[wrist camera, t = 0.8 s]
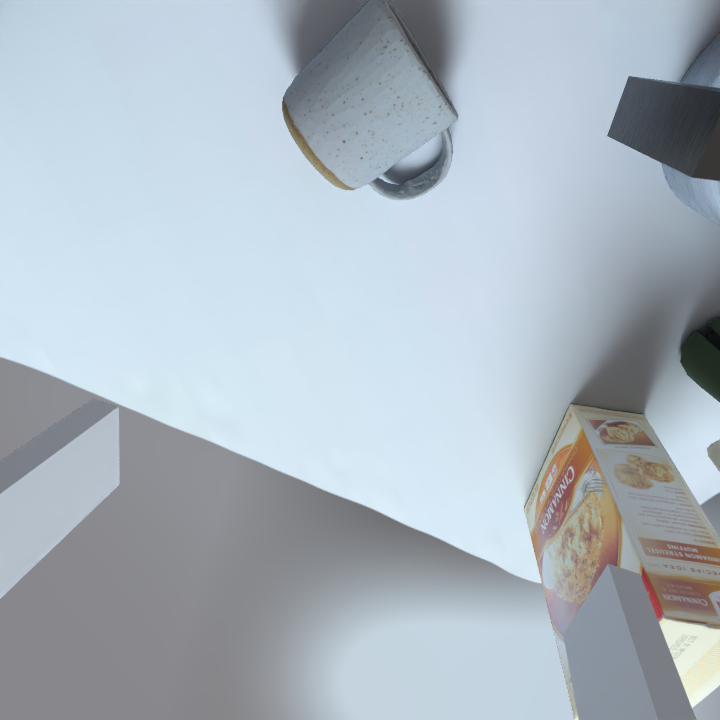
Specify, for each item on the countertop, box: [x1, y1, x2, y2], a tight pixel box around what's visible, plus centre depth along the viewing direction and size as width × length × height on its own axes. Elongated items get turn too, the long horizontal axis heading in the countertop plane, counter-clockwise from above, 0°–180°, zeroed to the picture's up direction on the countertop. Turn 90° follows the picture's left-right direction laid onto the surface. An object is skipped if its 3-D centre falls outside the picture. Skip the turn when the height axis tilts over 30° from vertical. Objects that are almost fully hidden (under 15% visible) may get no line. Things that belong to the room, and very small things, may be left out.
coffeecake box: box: [524, 404, 720, 720], centre depth 40 cm, size 15×7×20 cm, turn 174°
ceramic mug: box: [282, 0, 458, 200], centre depth 29 cm, size 11×8×8 cm
